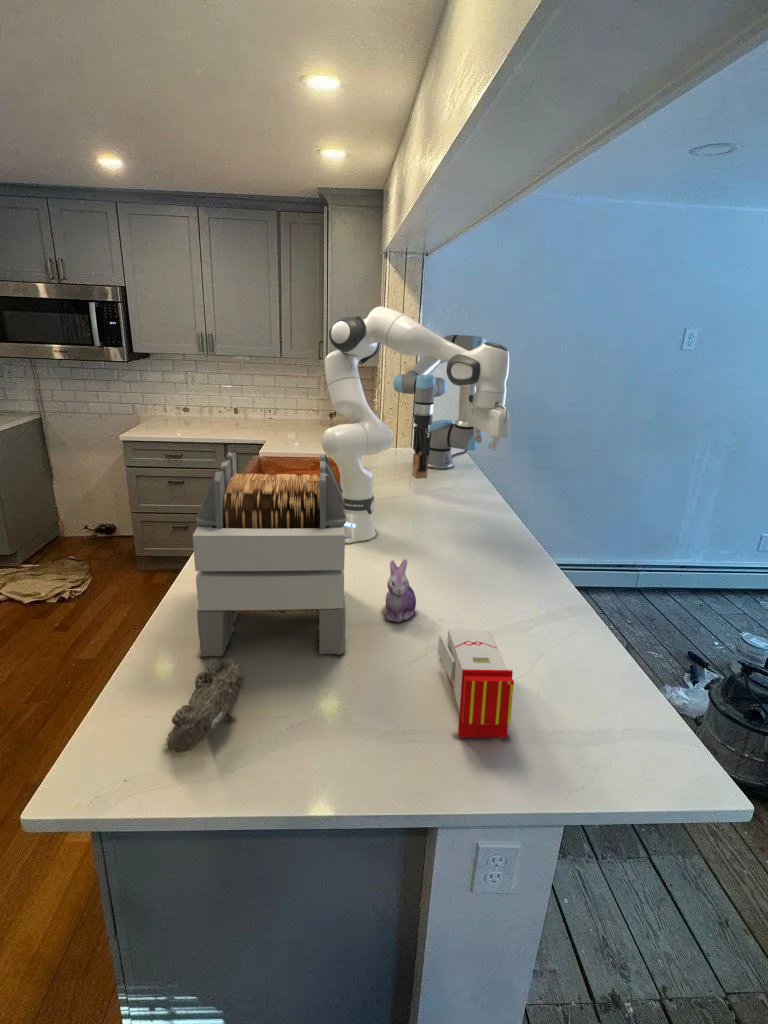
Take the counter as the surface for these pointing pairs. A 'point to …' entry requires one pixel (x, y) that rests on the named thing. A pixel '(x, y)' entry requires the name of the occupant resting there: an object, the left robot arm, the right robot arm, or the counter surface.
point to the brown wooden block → (416, 467)
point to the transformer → (270, 552)
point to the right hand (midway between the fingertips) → (419, 469)
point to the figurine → (399, 594)
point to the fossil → (206, 705)
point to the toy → (478, 682)
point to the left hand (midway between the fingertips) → (484, 446)
